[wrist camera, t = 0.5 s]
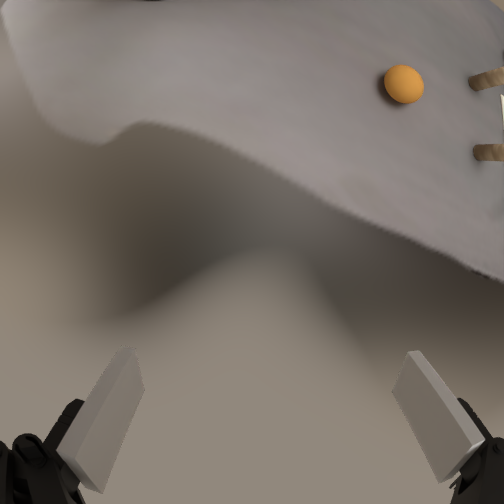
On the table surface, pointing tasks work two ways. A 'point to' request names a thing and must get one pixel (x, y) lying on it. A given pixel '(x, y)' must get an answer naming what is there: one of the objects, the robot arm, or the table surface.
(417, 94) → the ball
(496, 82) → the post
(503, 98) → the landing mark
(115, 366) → the robot arm
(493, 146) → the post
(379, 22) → the table surface
